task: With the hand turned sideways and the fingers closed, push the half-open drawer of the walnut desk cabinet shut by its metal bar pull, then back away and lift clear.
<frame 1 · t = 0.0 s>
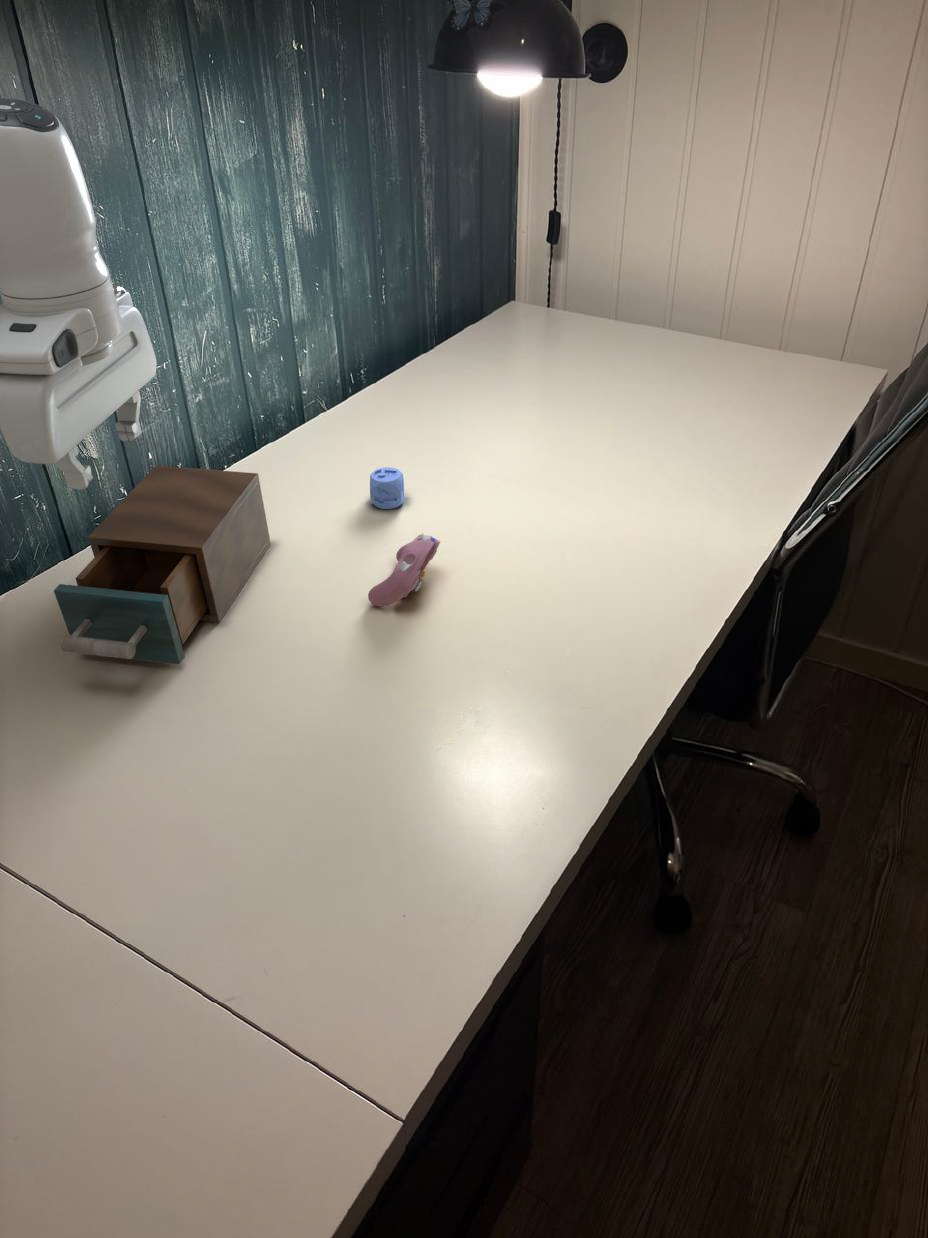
hand: (107, 460, 87), 20 cm above the table, tool pointing down, fingers open, 8 cm apart
cabinet: (195, 576, 107), on the table
decorative dice: (388, 502, 119), on the table
video game controller: (407, 588, 104), on the table
drawer: (141, 598, 95), point 5 cm above the table, slide at 7.0 cm
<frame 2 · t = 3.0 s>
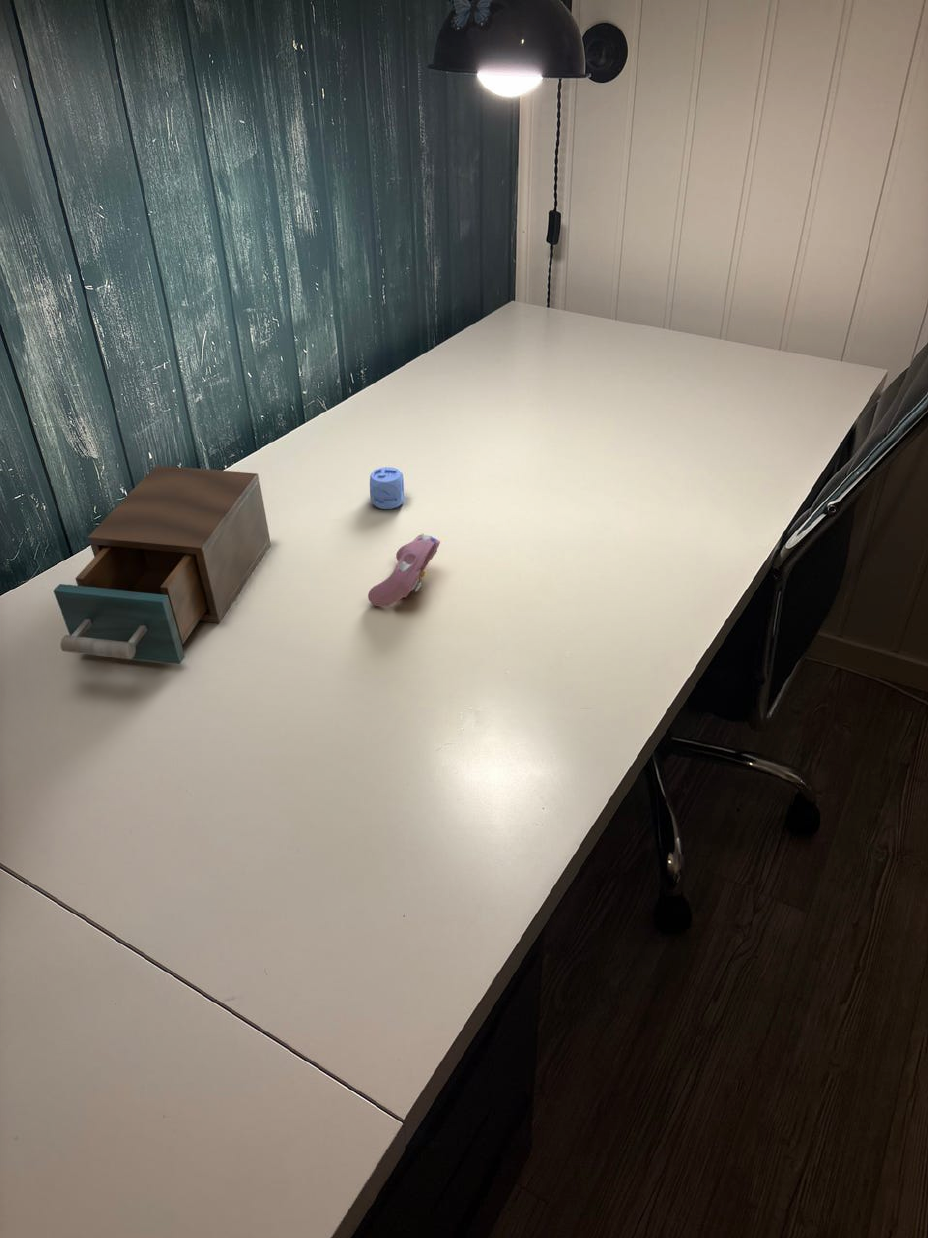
nothing on the table moved.
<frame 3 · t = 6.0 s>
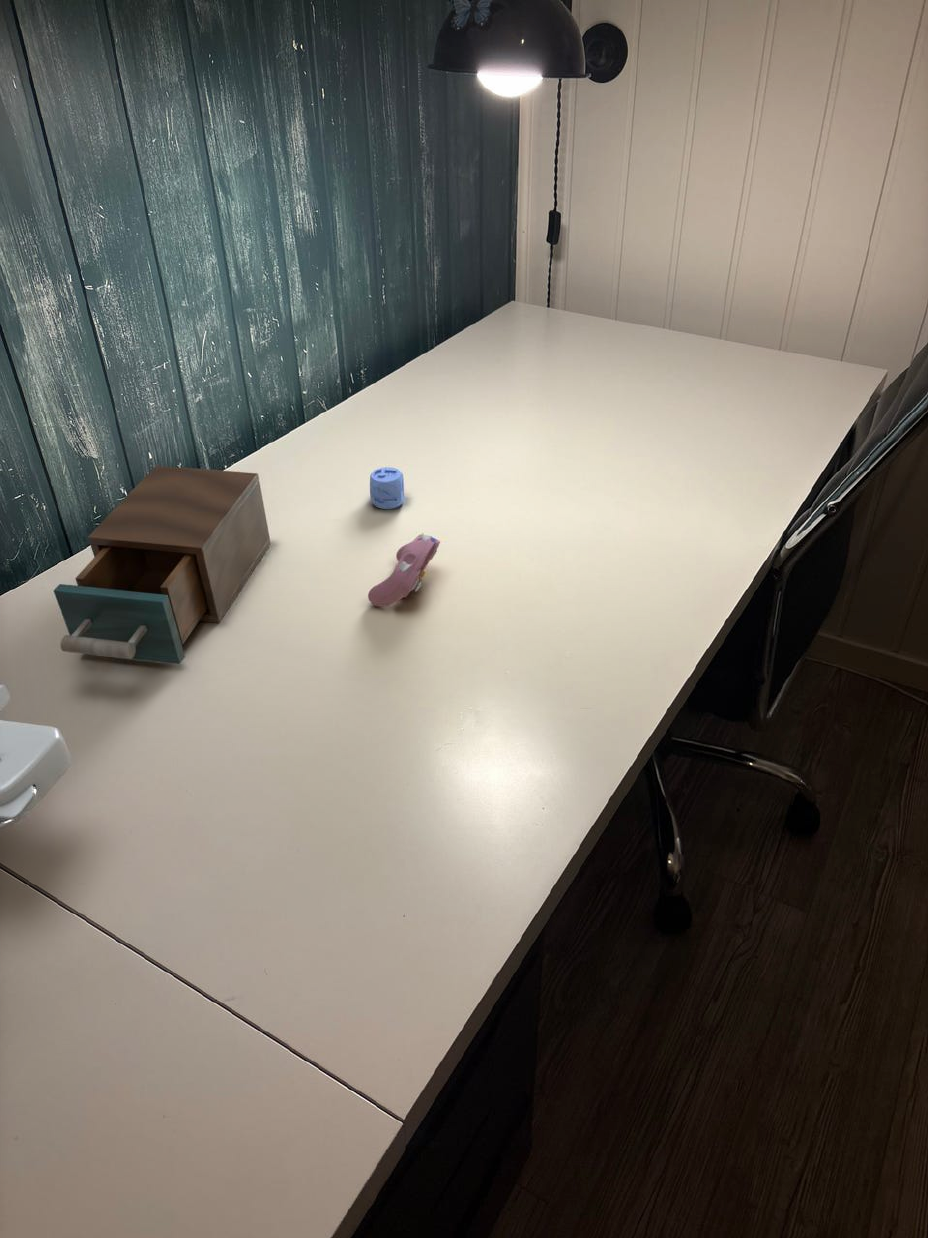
nothing on the table moved.
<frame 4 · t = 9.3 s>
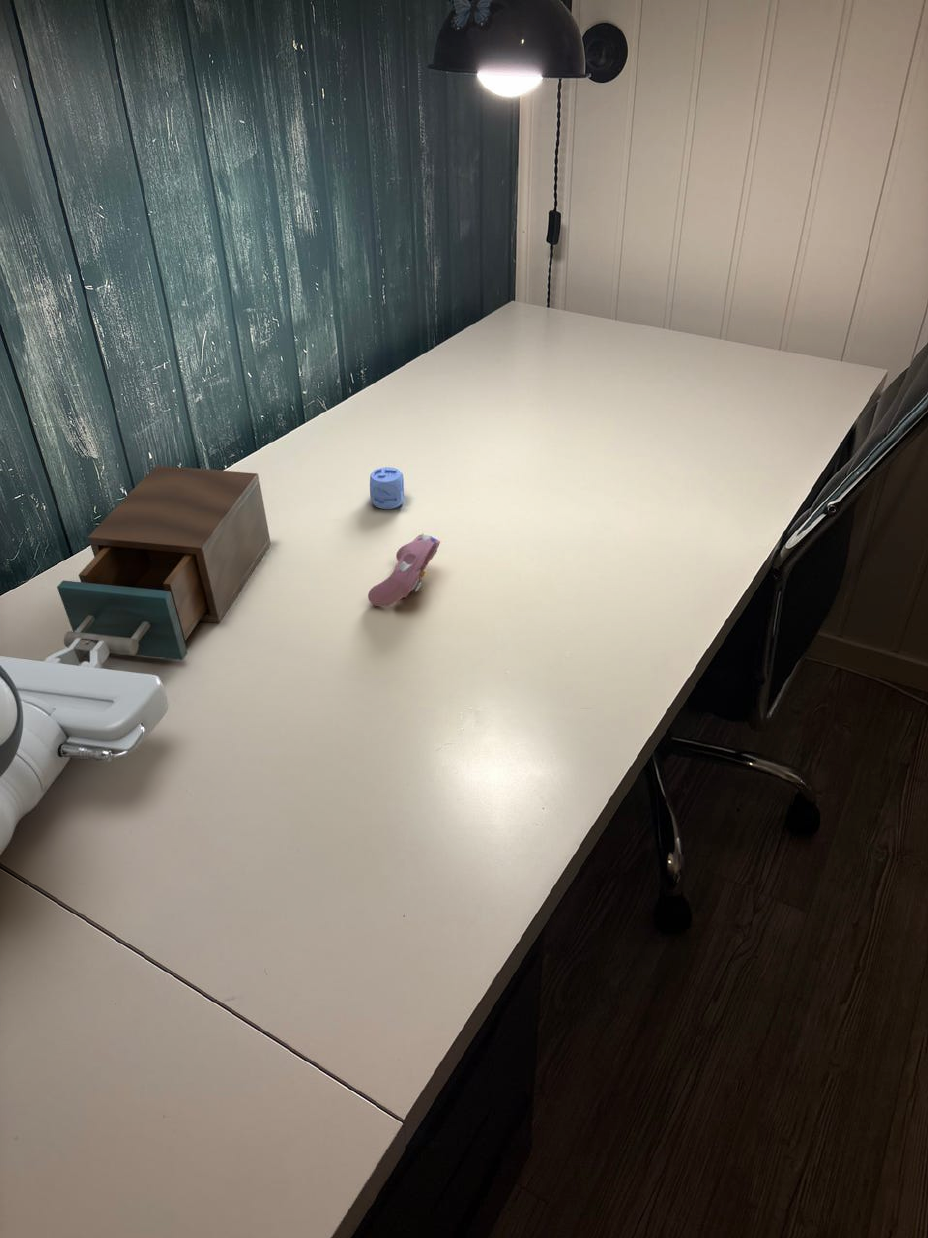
hand: (94, 644, 88), 6 cm above the table, tool horizontal, fingers closed, pressing on drawer
drawer: (144, 594, 96), point 5 cm above the table, slide at 6.4 cm, touching gripper
everything else where it was.
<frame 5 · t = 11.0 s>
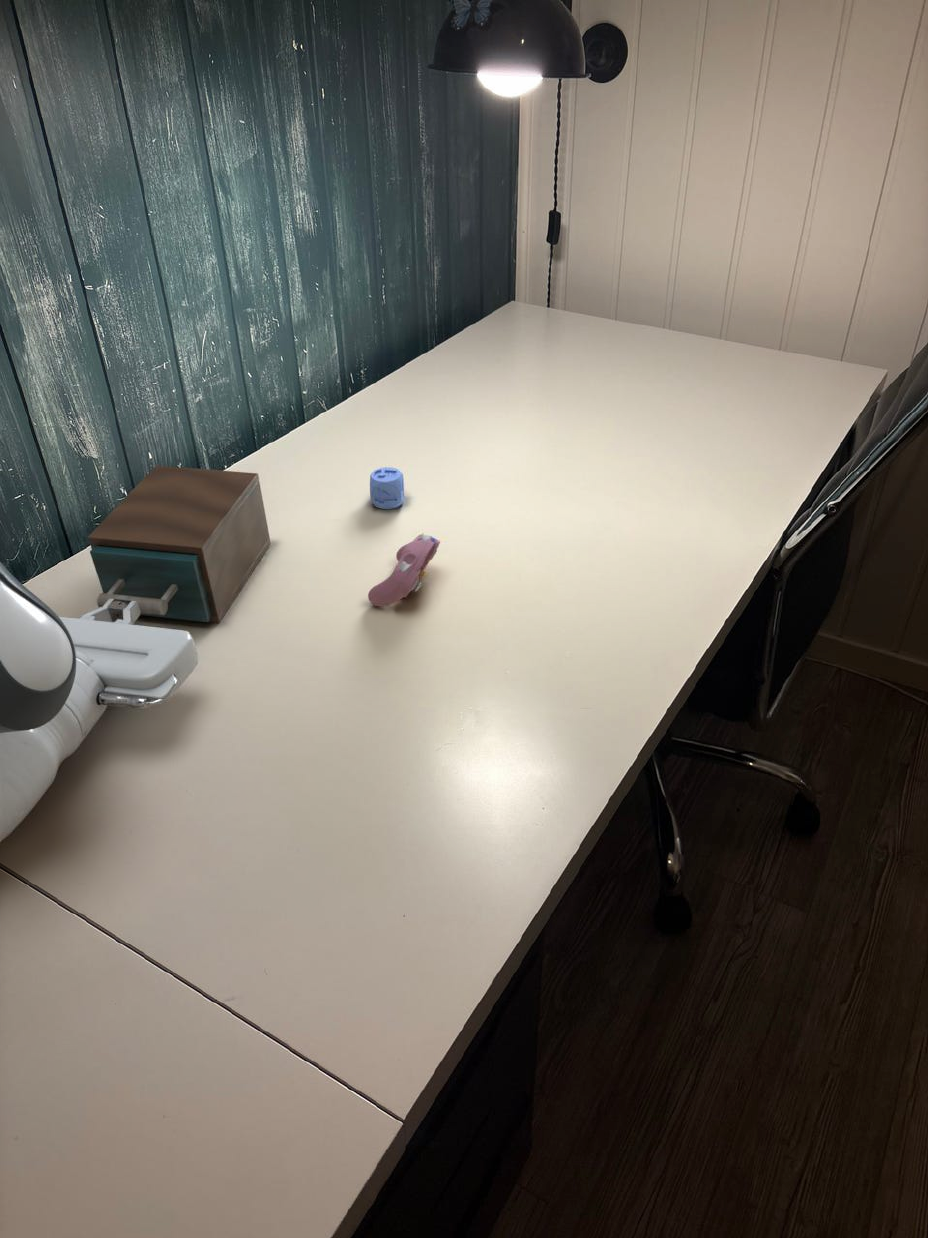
hand: (126, 604, 93), 6 cm above the table, tool horizontal, fingers closed, pressing on drawer
drawer: (170, 560, 101), point 5 cm above the table, slide at 0.0 cm, touching cabinet, gripper
everything else where it was.
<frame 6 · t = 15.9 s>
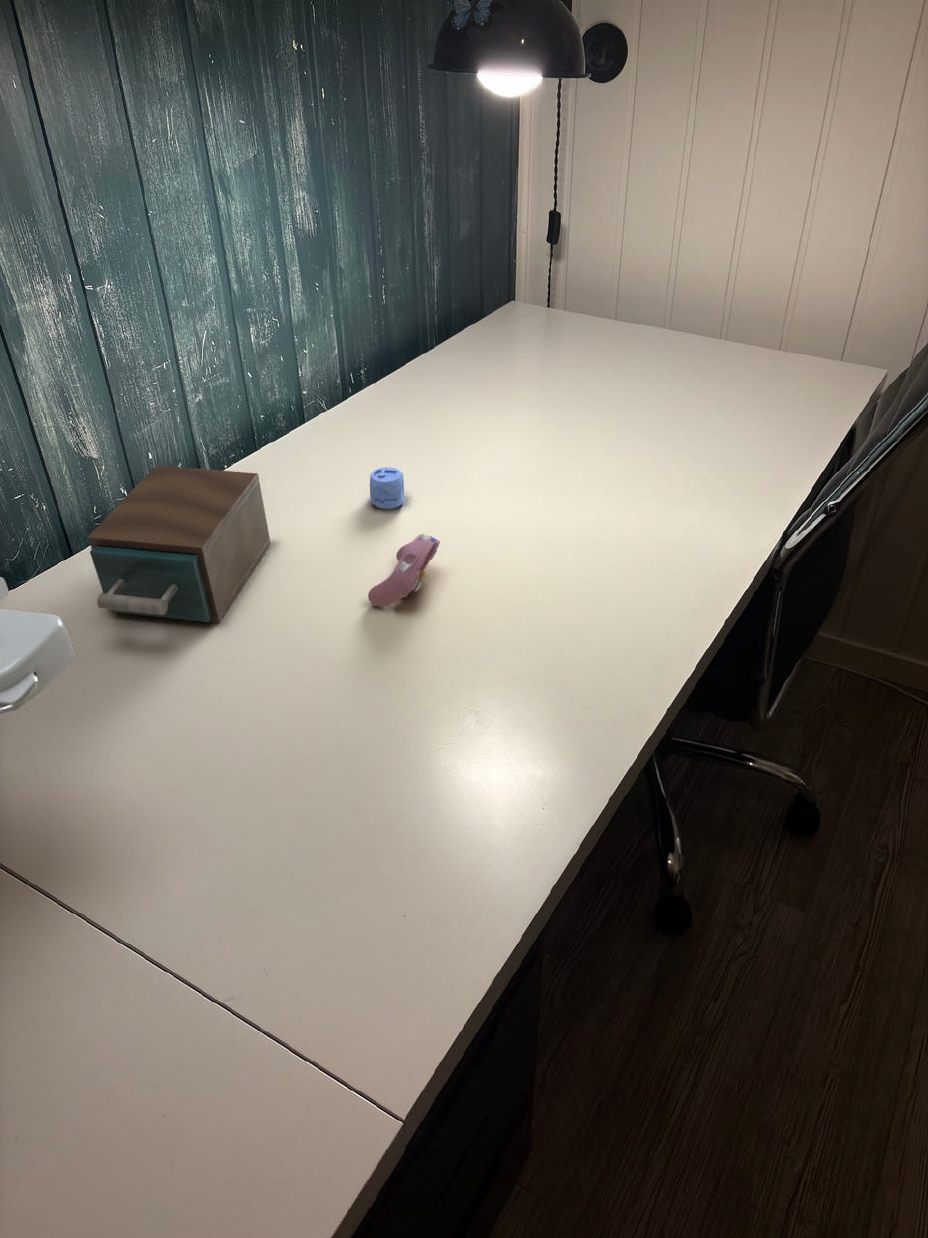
drawer: (170, 560, 101), point 5 cm above the table, slide at 0.0 cm, touching cabinet
everything else where it was.
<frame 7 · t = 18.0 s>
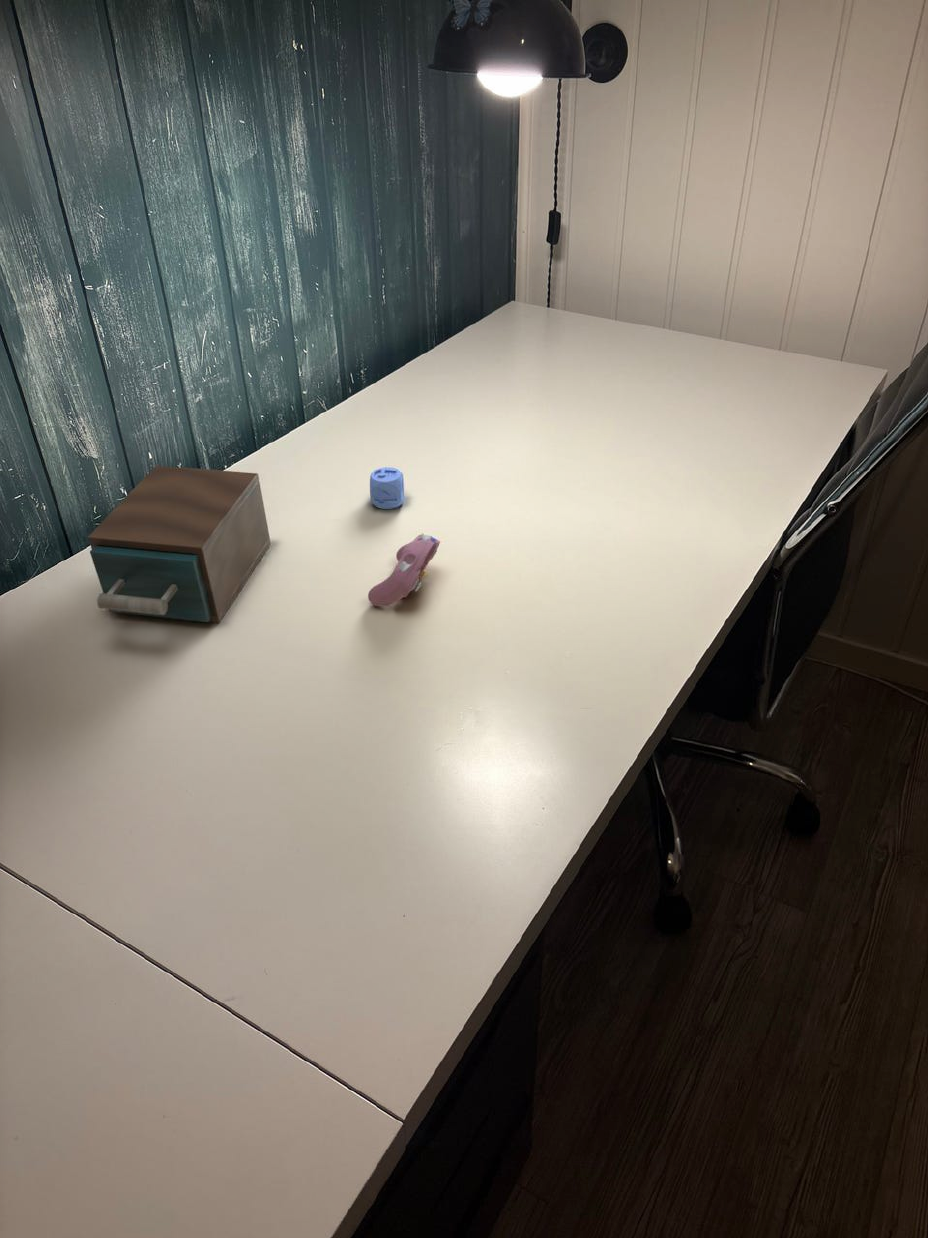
nothing on the table moved.
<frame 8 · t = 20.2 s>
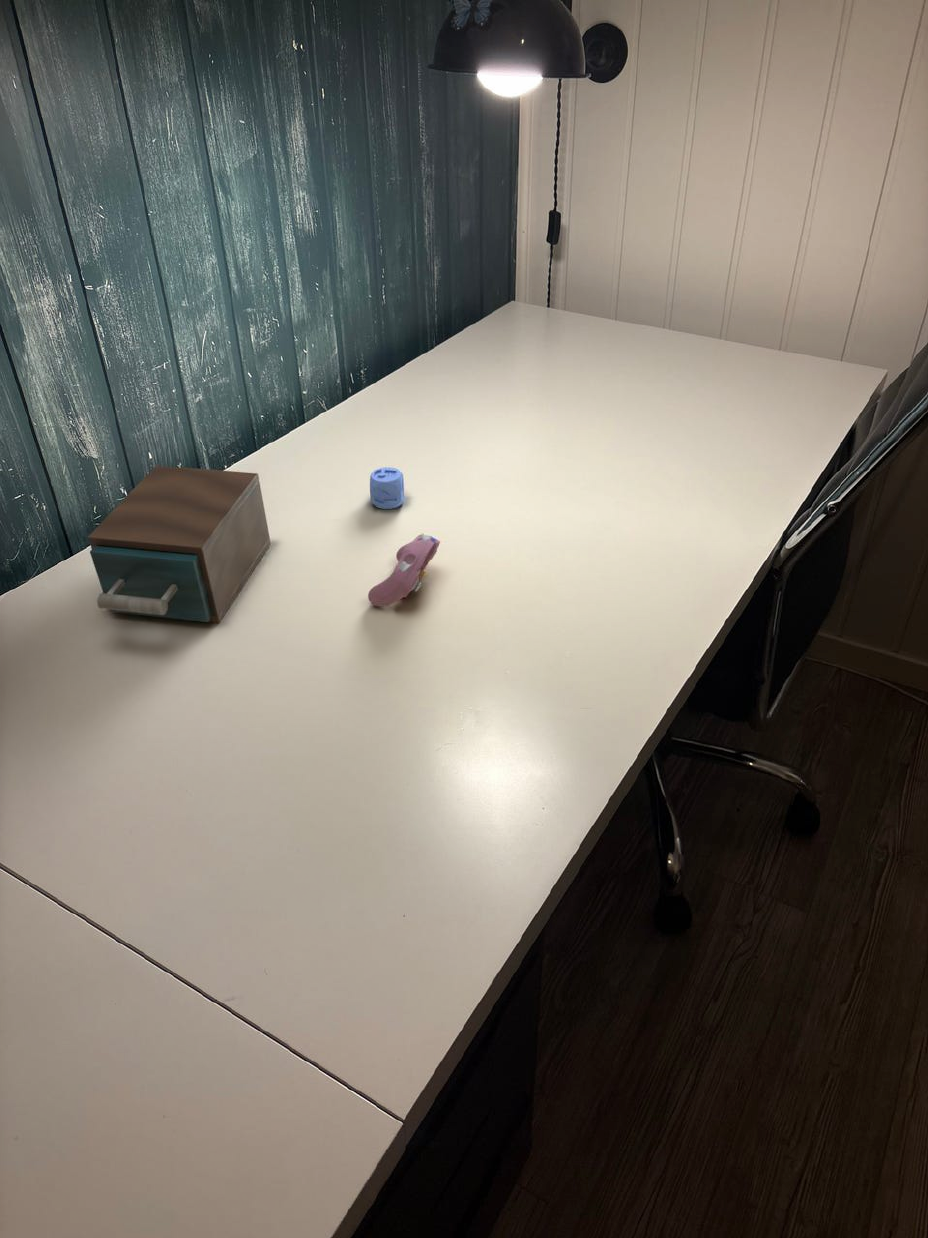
nothing on the table moved.
at the end: drawer slide at 0.0 cm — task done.
